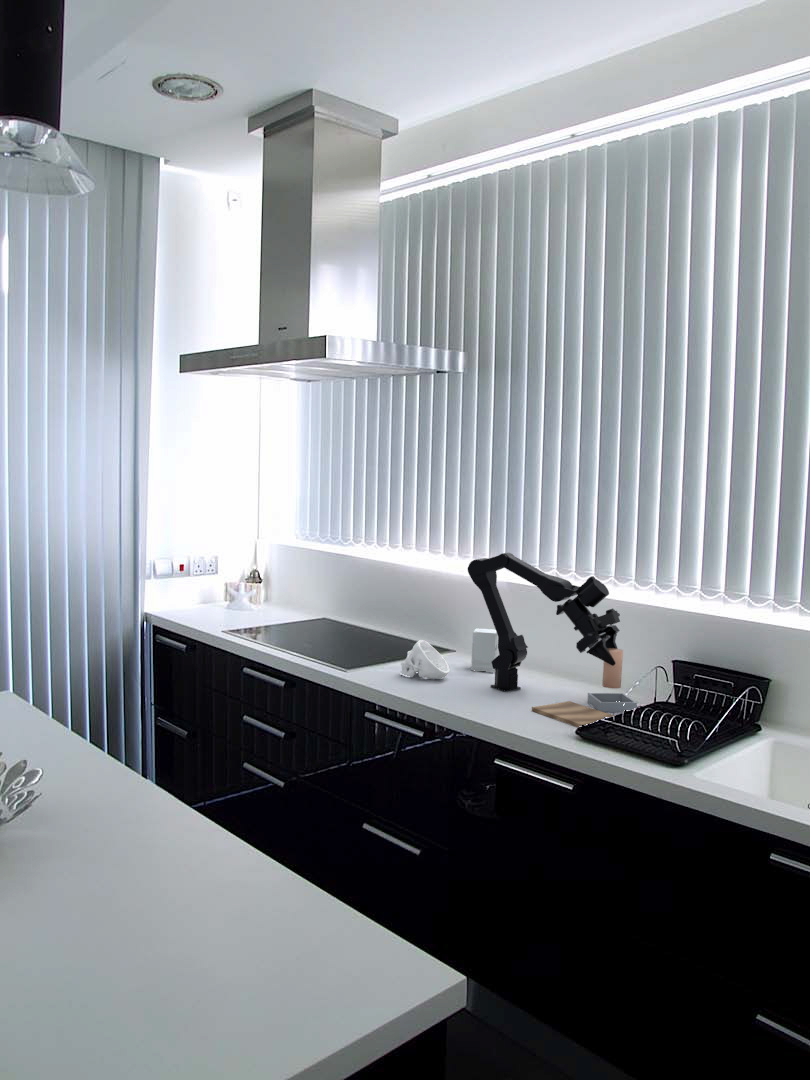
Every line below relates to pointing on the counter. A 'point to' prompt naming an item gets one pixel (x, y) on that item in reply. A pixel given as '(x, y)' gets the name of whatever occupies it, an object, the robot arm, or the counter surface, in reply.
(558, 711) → the walnut board
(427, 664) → the skull bowl
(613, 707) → the grey box
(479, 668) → the supplement box
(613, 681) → the pink tall rounded piece
